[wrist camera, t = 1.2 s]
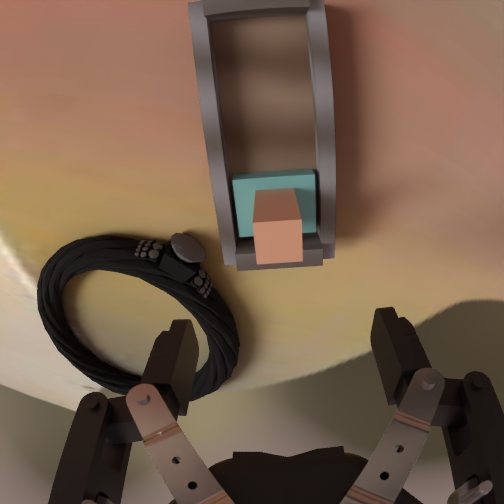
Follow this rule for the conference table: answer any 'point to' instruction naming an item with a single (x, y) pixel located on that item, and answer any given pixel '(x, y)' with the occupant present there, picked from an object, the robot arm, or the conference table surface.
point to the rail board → (266, 109)
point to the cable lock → (159, 275)
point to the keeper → (276, 212)
